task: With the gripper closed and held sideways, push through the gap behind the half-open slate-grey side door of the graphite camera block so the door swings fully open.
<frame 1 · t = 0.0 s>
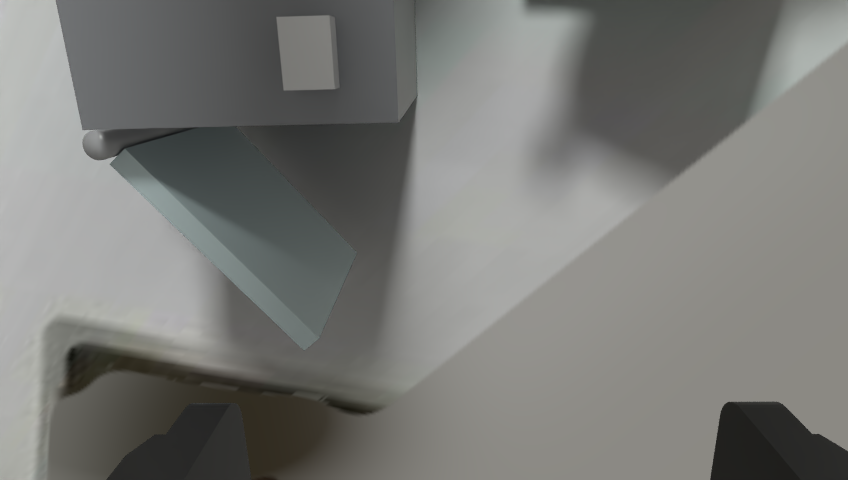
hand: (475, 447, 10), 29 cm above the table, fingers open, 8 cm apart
side door: (249, 212, 31), point 8 cm above the table, hinge at 50.0°
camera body: (317, 14, 35), on the table
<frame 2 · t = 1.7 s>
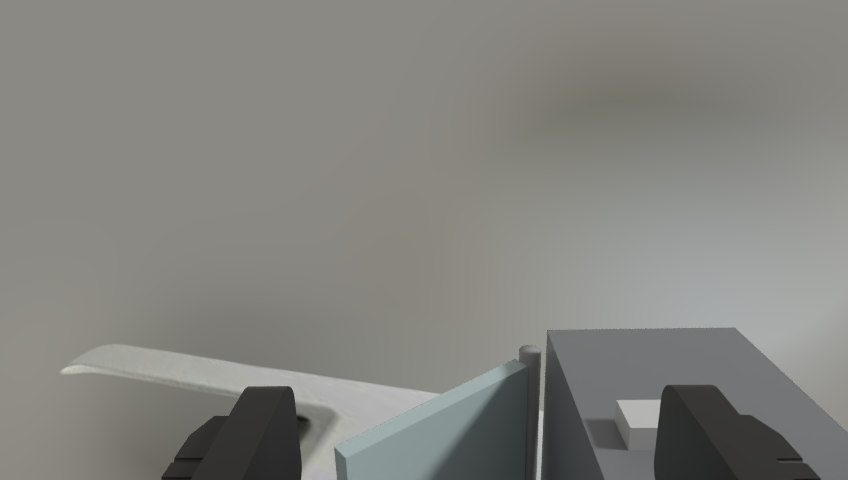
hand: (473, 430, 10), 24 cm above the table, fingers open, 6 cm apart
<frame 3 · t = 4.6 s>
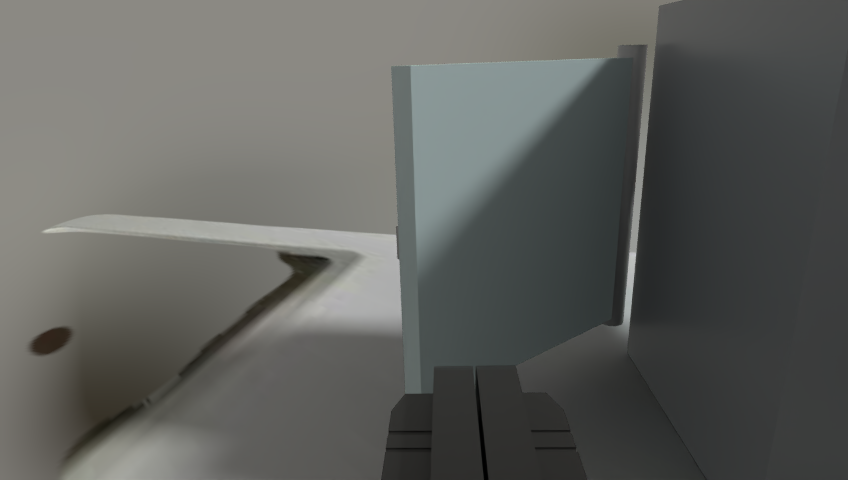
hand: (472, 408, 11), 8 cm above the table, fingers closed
side door: (531, 215, 23), point 8 cm above the table, hinge at 50.0°
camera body: (802, 426, 22), on the table
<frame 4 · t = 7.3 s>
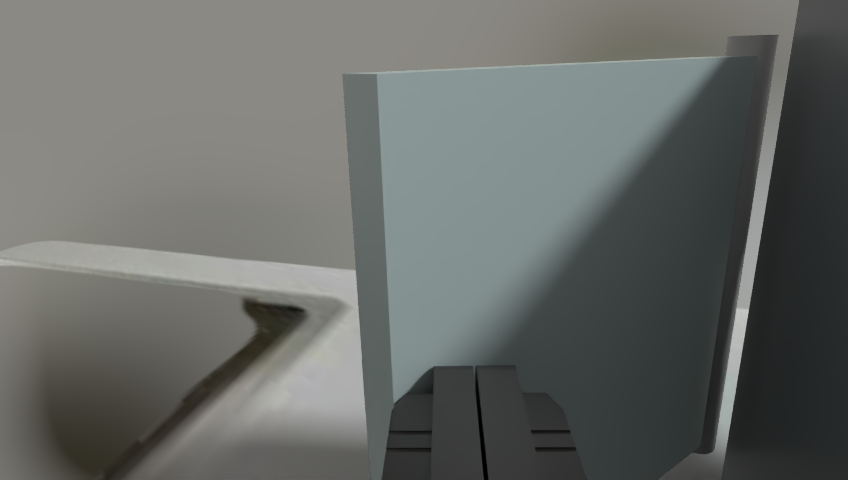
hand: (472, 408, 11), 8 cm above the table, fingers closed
side door: (593, 313, 14), point 8 cm above the table, hinge at 50.7°, touching gripper
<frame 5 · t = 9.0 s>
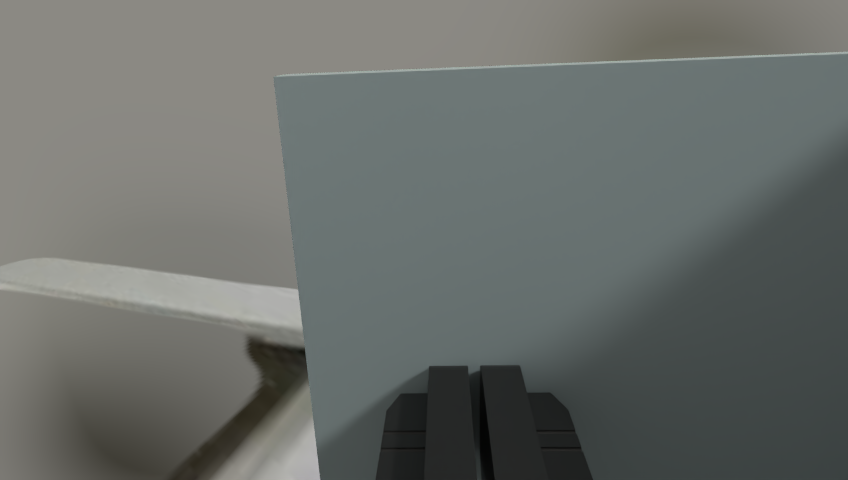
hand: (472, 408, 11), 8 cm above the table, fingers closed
side door: (642, 374, 11), point 8 cm above the table, hinge at 83.3°, touching gripper
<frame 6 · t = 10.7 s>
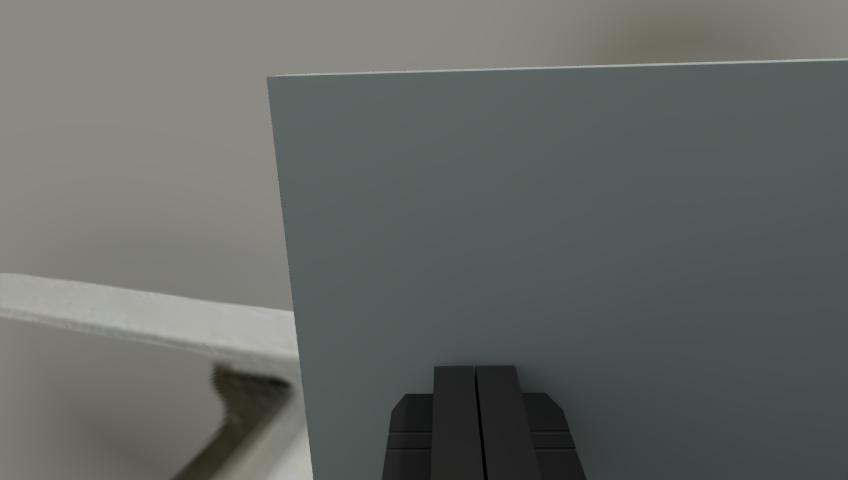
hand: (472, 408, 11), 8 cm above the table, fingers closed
side door: (637, 399, 11), point 8 cm above the table, hinge at 99.6°, touching gripper
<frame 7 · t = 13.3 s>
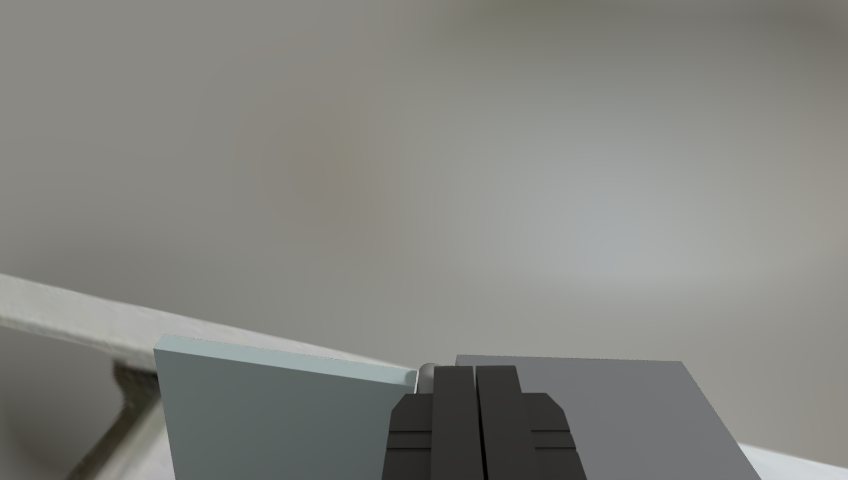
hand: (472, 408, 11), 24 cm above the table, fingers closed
side door: (302, 449, 28), point 8 cm above the table, hinge at 99.7°
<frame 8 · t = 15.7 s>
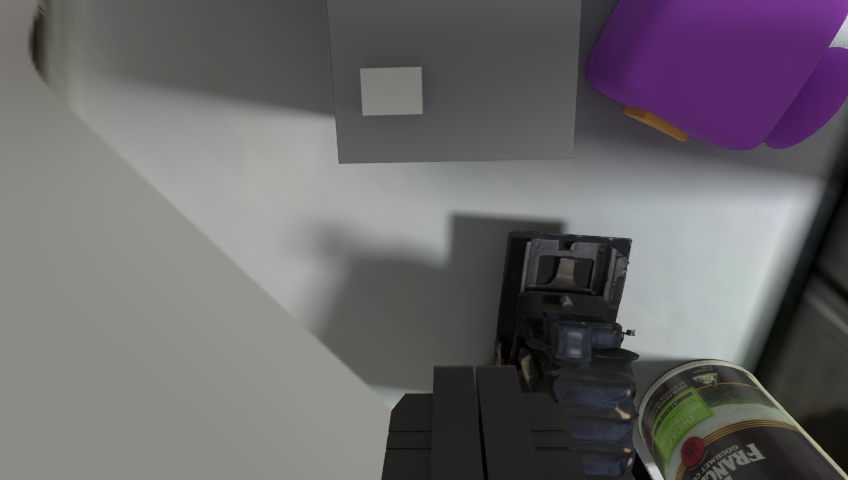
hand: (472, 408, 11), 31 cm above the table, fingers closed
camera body: (449, 29, 38), on the table
toy camera: (689, 53, 38), on the table
coffee can: (700, 413, 46), on the table
vintage camera: (543, 314, 44), on the table
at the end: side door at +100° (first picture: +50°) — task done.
